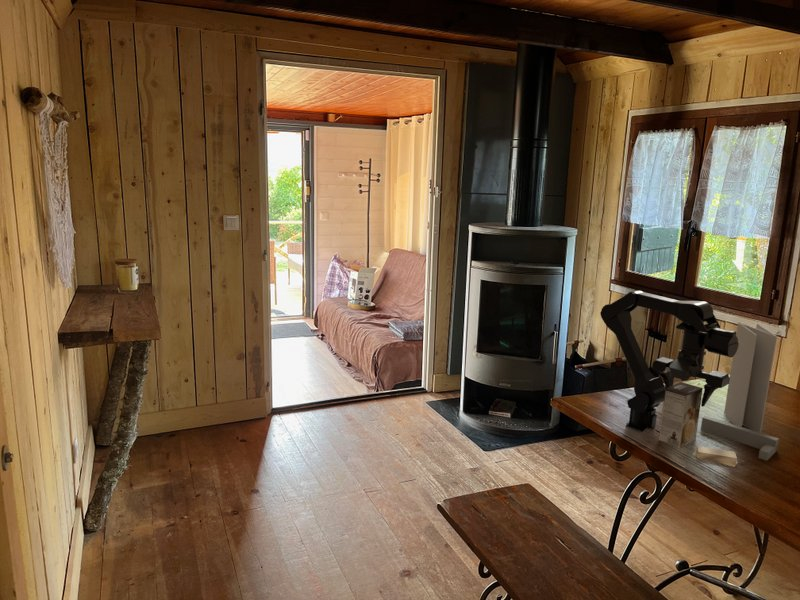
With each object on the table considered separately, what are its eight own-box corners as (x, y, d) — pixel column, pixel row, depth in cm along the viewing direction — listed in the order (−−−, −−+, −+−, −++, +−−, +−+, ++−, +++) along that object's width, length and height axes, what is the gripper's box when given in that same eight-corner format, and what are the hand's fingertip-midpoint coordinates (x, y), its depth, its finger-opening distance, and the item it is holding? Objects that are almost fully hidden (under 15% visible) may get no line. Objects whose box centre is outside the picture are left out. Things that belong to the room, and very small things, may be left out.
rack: (691, 439, 167) (693, 423, 165) (702, 431, 172) (705, 415, 171) (766, 464, 153) (769, 447, 152) (775, 455, 158) (778, 438, 157)
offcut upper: (697, 457, 153) (698, 451, 153) (695, 451, 157) (696, 445, 156) (736, 464, 150) (737, 458, 150) (733, 458, 154) (734, 451, 153)
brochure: (760, 434, 170) (777, 336, 164) (739, 432, 171) (755, 335, 165) (743, 415, 184) (757, 323, 177) (724, 413, 185) (738, 322, 178)
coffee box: (673, 433, 169) (680, 380, 165) (696, 441, 164) (703, 387, 161) (657, 441, 163) (664, 388, 160) (680, 450, 159) (687, 395, 155)
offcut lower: (691, 460, 155) (692, 454, 155) (695, 455, 158) (696, 449, 158) (733, 473, 149) (734, 467, 149) (736, 467, 152) (737, 461, 152)
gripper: (645, 344, 160) (639, 397, 164) (717, 362, 147) (708, 419, 150) (664, 337, 167) (658, 388, 171) (734, 353, 154) (725, 408, 157)
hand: (685, 401), depth 162 cm, fingers open, 9 cm apart
